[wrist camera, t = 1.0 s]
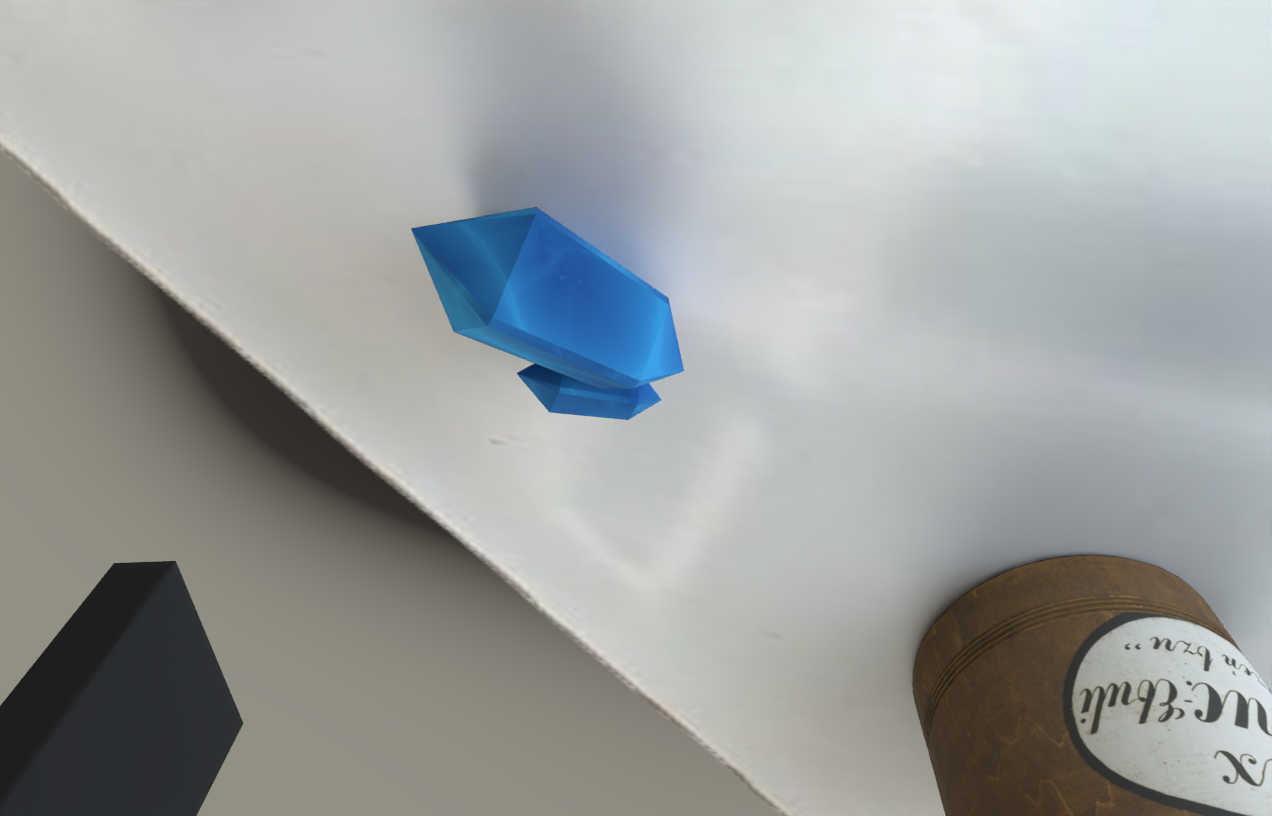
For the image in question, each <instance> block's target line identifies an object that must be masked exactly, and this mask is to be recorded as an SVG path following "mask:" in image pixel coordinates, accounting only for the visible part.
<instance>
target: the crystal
mask: <svg viewBox="0 0 1272 816" xmlns="http://www.w3.org/2000/svg"><path fill="white" fill-rule="evenodd" d="M411 229H412V232H413V234H414V237H415V239H416V242H417V244H418V246H419V249H420V251H421V254H422V256H423V258H424V261H425V263H426V266H427V268H428V271H429V273H430V275H431V278H432V280H433V283H434V285H435V287H436V290H437V292H438V295H439V297H440V299H441V302H442V304H443V307H444V309H445V312H446V314H447V316H448V319H449V321H450V324H451V326H452V328H453V331H454V332H456V333H458V334H461V335H463V336H466V337H468V338H471V339H474V340H476V341H479V342H481V343H484V344H487V345H489V346H492V347H494V348H497V349H499V350H502V351H505V352H507V353H510V354H512V355H515V356H517V357H520V358H523V359H525V360H528V361H530V362H533V363H535V364H533V365H531V366H529V367H527V368H525V369H524V370H522V371H520V372H518V373H517V374H518V376H519V377H520V378H521V379H522V380H523V382H524V383H525V384H526V385H527V386H528V387H529V389H530V390H531V391H532V392H533V393H534V395H535V396H536V397H537V398H538V399H539V400H540V402H541V403H542V404H543V405H544V406H545V408H546V409H547V410H548V411H549V412H552V413H562V414H573V415H583V416H594V417H604V418H614V419H625V420H628V419H630V418H632V417H633V416H635V415H637V414H639V413H640V412H642V411H644V410H645V409H647V408H649V407H650V406H652V405H654V404H655V403H657V402H659V401H661V399H660V397H659V396H658V395H657V393H656V392H655V391H654V389H653V388H652V387H651V385H650V384H649V383H650V382H653V381H656V380H659V379H662V378H665V377H668V376H671V375H674V374H676V373H679V372H682V371H684V369H683V364H682V360H681V355H680V351H679V346H678V341H677V337H676V332H675V328H674V323H673V318H672V314H671V309H670V305H669V300H668V298H667V297H666V296H664V295H663V294H662V293H660V292H659V291H657V290H656V289H654V288H653V287H651V286H650V285H648V284H647V283H646V282H644V281H643V280H641V279H640V278H638V277H637V276H635V275H634V274H633V273H631V272H630V271H628V270H627V269H625V268H624V267H622V266H621V265H619V264H618V263H617V262H615V261H614V260H612V259H611V258H609V257H608V256H606V255H605V254H603V253H602V252H601V251H599V250H598V249H596V248H595V247H593V246H592V245H590V244H589V243H587V242H586V241H585V240H583V239H582V238H580V237H579V236H577V235H576V234H574V233H573V232H572V231H570V230H569V229H567V228H566V227H564V226H563V225H561V224H560V223H558V222H557V221H556V220H554V219H553V218H551V217H550V216H548V215H547V214H545V213H544V212H542V211H541V210H540V209H538V208H537V207H535V208H529V209H523V210H517V211H511V212H505V213H500V214H494V215H488V216H482V217H476V218H470V219H464V220H458V221H452V222H447V223H441V224H435V225H429V226H423V227H417V228H411Z"/></svg>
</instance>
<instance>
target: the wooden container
mask: <svg viewBox="0 0 1272 816" xmlns="http://www.w3.org/2000/svg"><path fill="white" fill-rule="evenodd" d="M913 695H914V700H915V704H916V708H917V712H918V716H919V720H920V723H921V727H922V731H923V734H924V738H925V741H926V745H927V748H928V751H929V756H930V760H931V763H932V767H933V770H934V774H935V778H936V781H937V785H938V789H939V793H940V796H941V800H942V804H943V808H944V811H945V815H946V816H1272V692H1271V691H1270V690H1269V688H1268V687H1267V685H1266V684H1265V683H1264V681H1263V680H1262V679H1261V677H1260V676H1259V674H1258V673H1257V672H1256V670H1255V669H1254V667H1253V666H1252V664H1251V663H1250V662H1249V660H1248V659H1247V658H1246V657H1245V656H1244V655H1243V653H1242V652H1241V651H1240V649H1239V648H1238V646H1237V645H1236V643H1235V642H1234V640H1233V639H1232V638H1231V636H1230V635H1229V633H1228V632H1227V631H1226V629H1225V628H1224V626H1223V625H1222V624H1221V622H1220V621H1219V619H1218V618H1217V617H1216V615H1215V614H1214V612H1213V611H1212V610H1211V608H1210V607H1209V606H1208V604H1207V603H1206V602H1205V600H1204V599H1203V598H1202V597H1201V596H1200V595H1199V594H1198V593H1197V592H1196V591H1195V590H1194V589H1193V588H1192V587H1191V586H1190V585H1188V584H1187V583H1186V582H1185V581H1183V580H1182V579H1180V578H1179V577H1177V576H1175V575H1173V574H1171V573H1170V572H1168V571H1166V570H1164V569H1162V568H1160V567H1157V566H1154V565H1151V564H1148V563H1144V562H1140V561H1135V560H1131V559H1126V558H1121V557H1113V556H1102V555H1087V556H1068V557H1061V558H1053V559H1048V560H1044V561H1039V562H1035V563H1032V564H1028V565H1025V566H1021V567H1018V568H1016V569H1013V570H1010V571H1008V572H1005V573H1003V574H1001V575H999V576H997V577H995V578H993V579H991V580H989V581H987V582H985V583H983V584H982V585H980V586H978V587H976V588H974V589H973V590H971V591H970V592H969V593H967V594H966V595H965V596H963V597H962V598H961V599H959V600H958V601H957V602H956V603H955V604H953V605H952V606H951V607H950V608H949V609H948V610H947V611H946V612H945V613H944V614H943V615H942V616H941V617H940V618H939V619H938V620H937V621H936V623H935V624H934V625H933V626H932V628H931V629H930V631H929V632H928V634H927V636H926V637H925V639H924V641H923V643H922V645H921V647H920V649H919V652H918V655H917V657H916V662H915V665H914V668H913Z"/></svg>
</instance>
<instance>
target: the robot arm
mask: <svg viewBox="0 0 1272 816" xmlns="http://www.w3.org/2000/svg"><path fill="white" fill-rule="evenodd" d="M242 725H243V722H242V719H241V717H240V714H239V712H238V710H237V707H236V705H235V702H234V700H233V698H232V695H231V693H230V690H229V688H228V686H227V683H226V681H225V678H224V676H223V674H222V671H221V669H220V666H219V664H218V662H217V659H216V657H215V654H214V652H213V650H212V647H211V645H210V643H209V640H208V638H207V635H206V633H205V630H204V628H203V626H202V623H201V621H200V619H199V616H198V614H197V611H196V609H195V606H194V604H193V602H192V599H191V597H190V594H189V592H188V590H187V587H186V585H185V582H184V580H183V578H182V575H181V573H180V570H179V568H178V566H177V564H176V561H163V562H137V563H136V562H135V563H114V564H113V565H112V567H111V568H110V569H109V570H108V572H107V573H106V574H105V575H104V577H103V578H102V579H101V580H100V582H99V583H98V584H97V585H96V587H95V588H94V589H93V590H92V592H91V593H90V594H89V596H88V597H87V598H86V599H85V600H84V602H83V603H82V604H81V606H80V607H79V608H78V609H77V611H76V612H75V613H74V614H73V615H72V617H71V618H70V619H69V620H68V622H67V623H66V624H65V626H64V627H63V628H62V629H61V631H60V632H59V633H58V634H57V636H56V637H55V638H54V639H53V641H52V642H51V643H50V644H49V646H48V647H47V648H46V649H45V651H44V652H43V653H42V654H41V656H40V657H39V658H38V659H37V661H36V662H35V663H34V664H33V666H32V667H31V668H30V669H29V671H28V672H27V673H26V674H25V676H24V677H23V678H22V679H21V681H20V682H19V683H18V685H17V686H16V687H15V688H14V690H13V691H12V692H11V693H10V694H9V696H8V697H7V698H6V700H5V701H4V702H3V703H2V705H1V706H0V816H196V815H197V813H198V811H199V809H200V807H201V806H202V804H203V802H204V800H205V798H206V796H207V794H208V792H209V790H210V788H211V786H212V784H213V782H214V780H215V778H216V776H217V774H218V772H219V770H220V768H221V766H222V764H223V762H224V760H225V758H226V756H227V754H228V752H229V750H230V748H231V746H232V745H233V743H234V741H235V739H236V736H237V735H238V733H239V730H240V729H241V727H242Z"/></svg>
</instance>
